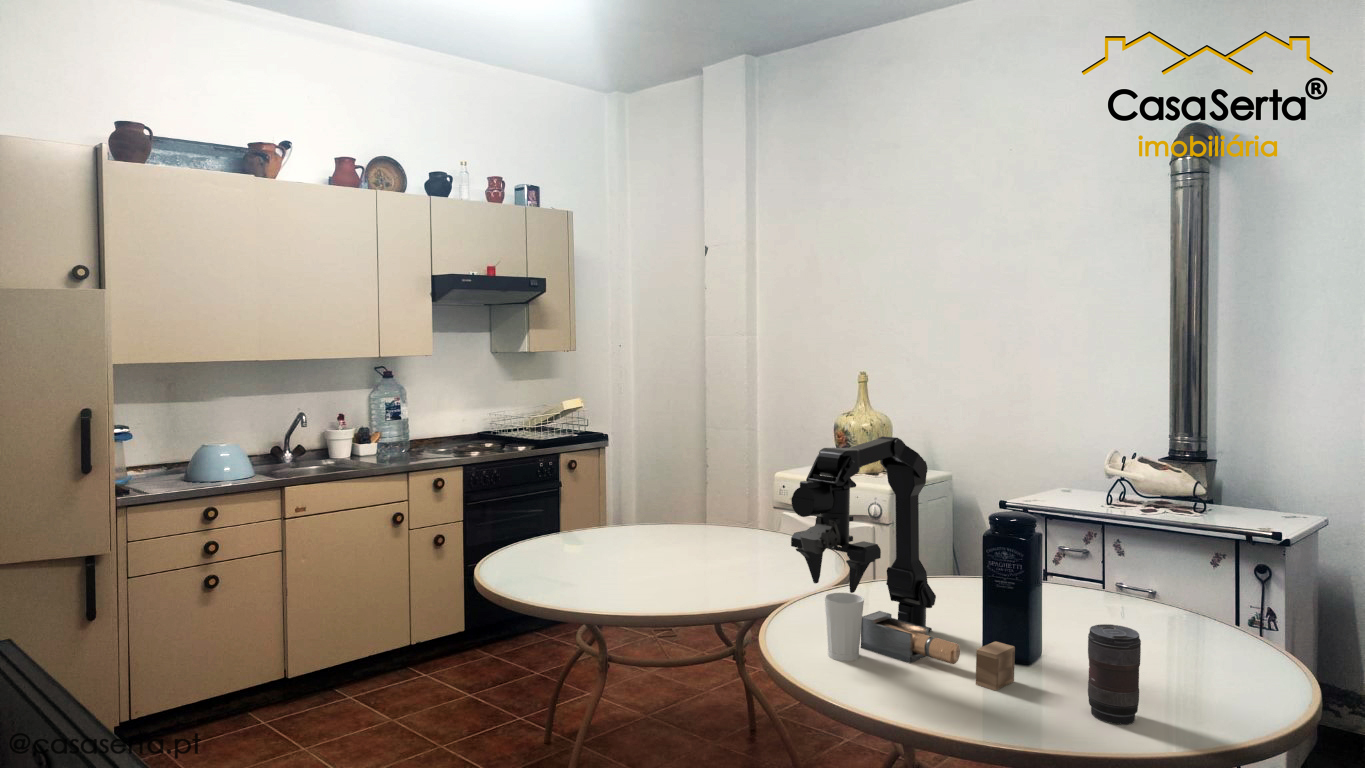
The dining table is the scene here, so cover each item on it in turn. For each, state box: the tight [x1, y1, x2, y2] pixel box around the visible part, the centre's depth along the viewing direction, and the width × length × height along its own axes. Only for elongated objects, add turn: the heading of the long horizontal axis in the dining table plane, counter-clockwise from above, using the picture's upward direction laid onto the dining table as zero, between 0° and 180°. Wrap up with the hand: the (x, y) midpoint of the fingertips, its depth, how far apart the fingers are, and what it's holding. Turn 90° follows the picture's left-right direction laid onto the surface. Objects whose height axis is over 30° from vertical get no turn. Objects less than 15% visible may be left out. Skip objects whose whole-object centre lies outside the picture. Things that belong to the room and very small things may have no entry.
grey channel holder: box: [860, 610, 930, 664], centre depth 181 cm, size 12×7×7 cm, turn 42°
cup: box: [824, 592, 865, 662], centre depth 179 cm, size 8×8×12 cm
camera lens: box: [1087, 623, 1142, 725], centre depth 150 cm, size 8×8×15 cm
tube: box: [876, 622, 961, 665], centre depth 178 cm, size 19×4×4 cm, turn 42°
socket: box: [975, 640, 1016, 691], centre depth 165 cm, size 7×4×7 cm, turn 132°
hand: (833, 587), depth 176 cm, fingers open, 9 cm apart
